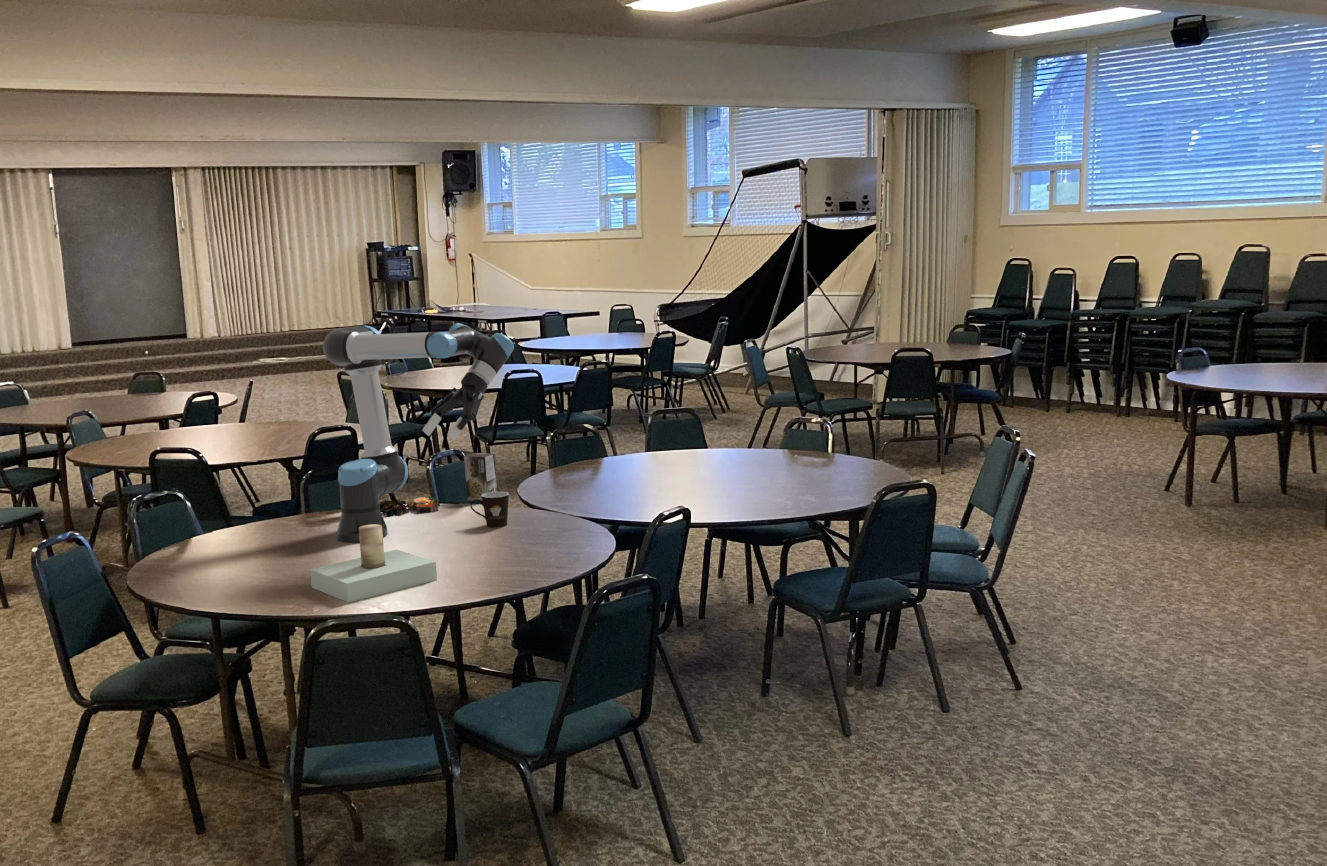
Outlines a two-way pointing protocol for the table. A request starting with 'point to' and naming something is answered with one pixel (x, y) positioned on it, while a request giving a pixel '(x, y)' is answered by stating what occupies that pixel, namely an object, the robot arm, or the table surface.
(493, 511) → the coffee mug
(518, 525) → the table surface
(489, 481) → the printed box
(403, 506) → the food
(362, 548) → the beech peg
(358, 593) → the sage board
